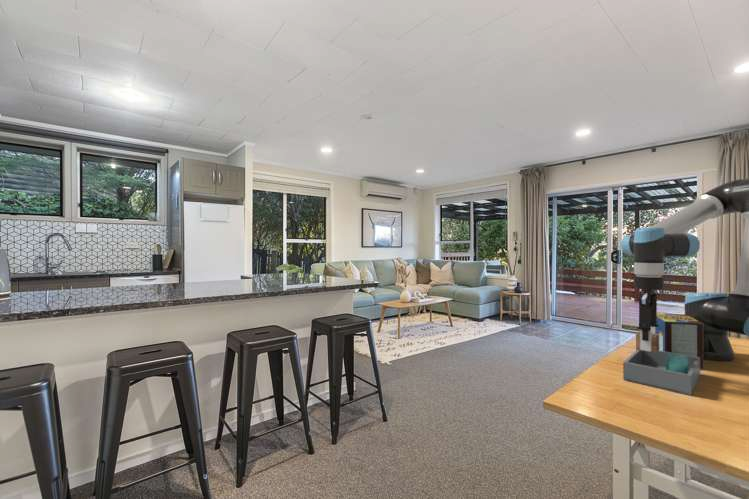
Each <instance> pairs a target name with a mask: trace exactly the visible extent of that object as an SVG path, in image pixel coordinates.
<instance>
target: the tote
mask: <svg viewBox="0 0 749 499" xmlns="http://www.w3.org/2000/svg"><path fill="white" fill-rule="evenodd" d="M669 353H670V352H665V351H659V350H658V351H657V352H656V353H652V352H646V351H640V350H636V349H635V351H634V352H633V353H632V354H631V355H630V356H628V357H627V358H626V359H625V360H624V361H623V363H622V364H623V365H622V366H623V369H622V370H623V372H622V373H623V377H622V380H623V381H626V382H630V383H631V382H632V383H634V384H638V385H643V386H647V387H650V388H651V387H652V388H655V389H660V390H664V391H669V392H672V393H677V394H682V395H685V396H690V397H691V396H692V394H693V392H694V390H695V388H696V386H697V384H698V381H699V378H700V377H701V369H700V358H699V357H694V356H688V355H684V356H686V357H688V374H684V373H679V372H674V371H669V370H666V354H669ZM671 354H676V353H671ZM680 355H682V354H680Z"/></svg>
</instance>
